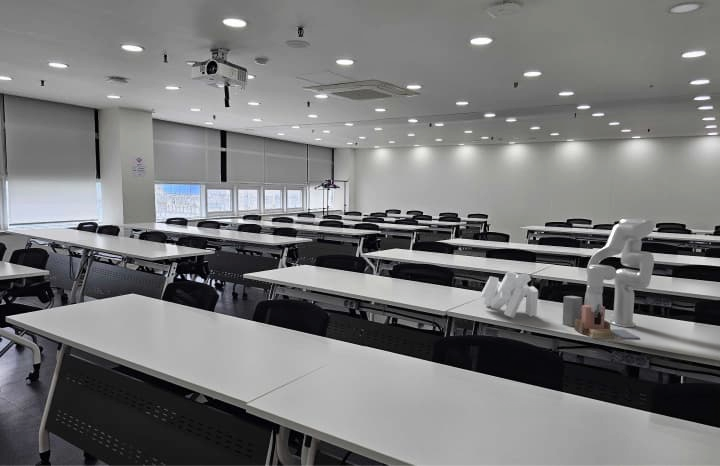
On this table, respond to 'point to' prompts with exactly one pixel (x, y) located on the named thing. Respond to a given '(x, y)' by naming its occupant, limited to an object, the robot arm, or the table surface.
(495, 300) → the pile of blocks
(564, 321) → the skincare box
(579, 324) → the rack
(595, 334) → the offcut stack
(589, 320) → the pink block
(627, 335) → the slate mat
